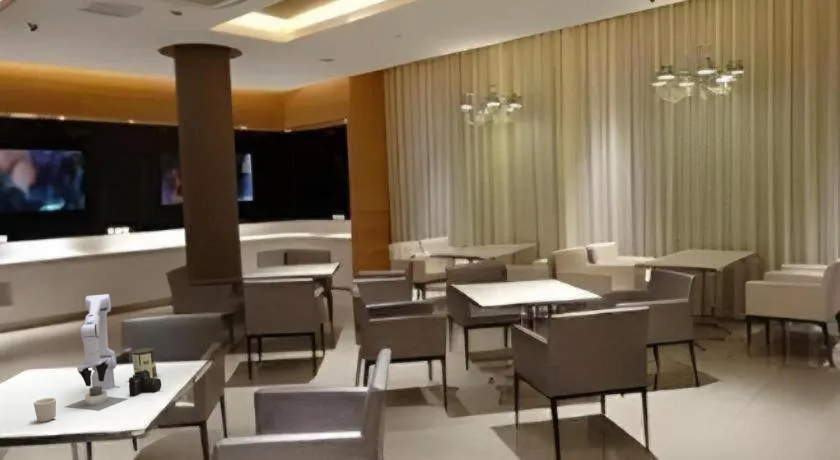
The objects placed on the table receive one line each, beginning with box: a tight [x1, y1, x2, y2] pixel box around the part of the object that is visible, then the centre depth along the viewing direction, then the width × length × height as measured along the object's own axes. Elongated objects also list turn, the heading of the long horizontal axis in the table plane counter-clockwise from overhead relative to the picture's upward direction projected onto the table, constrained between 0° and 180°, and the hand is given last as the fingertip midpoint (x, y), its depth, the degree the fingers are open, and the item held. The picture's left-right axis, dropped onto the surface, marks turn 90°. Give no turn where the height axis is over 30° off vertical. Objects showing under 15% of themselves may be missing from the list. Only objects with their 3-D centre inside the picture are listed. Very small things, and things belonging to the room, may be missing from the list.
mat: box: [64, 396, 128, 412], centre depth 304 cm, size 20×16×1 cm
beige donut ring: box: [84, 390, 108, 406], centre depth 304 cm, size 8×8×4 cm
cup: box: [33, 397, 57, 423], centre depth 289 cm, size 11×8×8 cm
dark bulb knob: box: [89, 386, 103, 395], centre depth 304 cm, size 5×5×6 cm
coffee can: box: [131, 347, 158, 378], centre depth 342 cm, size 10×10×14 cm
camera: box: [128, 369, 162, 398], centre depth 316 cm, size 14×11×10 cm
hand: (95, 383), depth 303 cm, fingers open, 6 cm apart
